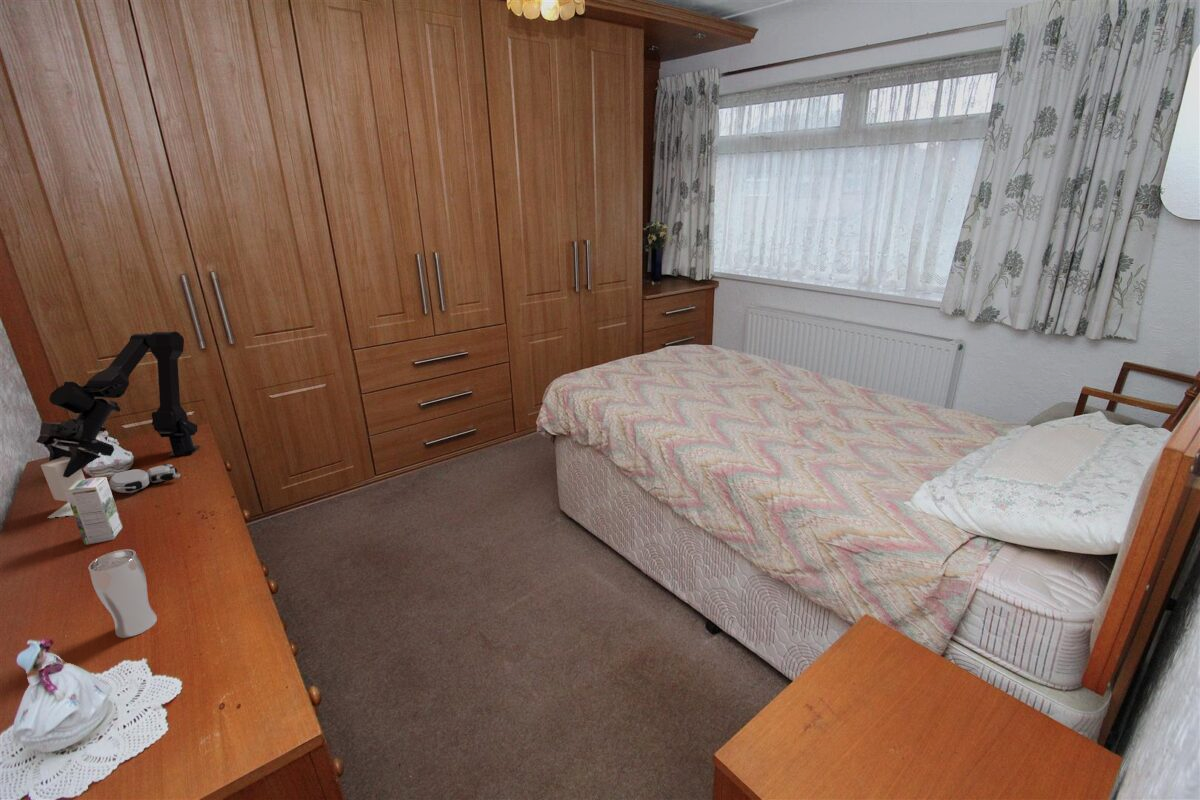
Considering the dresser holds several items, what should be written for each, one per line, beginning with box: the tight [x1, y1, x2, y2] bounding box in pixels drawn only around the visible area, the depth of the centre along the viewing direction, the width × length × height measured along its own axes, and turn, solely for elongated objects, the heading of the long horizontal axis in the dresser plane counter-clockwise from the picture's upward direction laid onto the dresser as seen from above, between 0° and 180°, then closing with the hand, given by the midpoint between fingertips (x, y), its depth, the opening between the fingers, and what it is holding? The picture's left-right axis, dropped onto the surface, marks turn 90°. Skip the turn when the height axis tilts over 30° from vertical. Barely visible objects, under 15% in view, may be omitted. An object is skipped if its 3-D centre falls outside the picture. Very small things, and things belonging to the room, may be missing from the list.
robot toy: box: [108, 463, 181, 494], centre depth 154 cm, size 12×4×15 cm
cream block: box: [40, 457, 86, 503], centre depth 139 cm, size 5×5×10 cm
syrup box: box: [66, 476, 124, 546], centre depth 128 cm, size 6×6×14 cm
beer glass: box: [88, 548, 158, 639], centre depth 99 cm, size 7×7×15 cm
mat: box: [47, 502, 74, 519], centre depth 142 cm, size 8×8×1 cm
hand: (57, 475), depth 137 cm, fingers closed on cream block, 5 cm apart
